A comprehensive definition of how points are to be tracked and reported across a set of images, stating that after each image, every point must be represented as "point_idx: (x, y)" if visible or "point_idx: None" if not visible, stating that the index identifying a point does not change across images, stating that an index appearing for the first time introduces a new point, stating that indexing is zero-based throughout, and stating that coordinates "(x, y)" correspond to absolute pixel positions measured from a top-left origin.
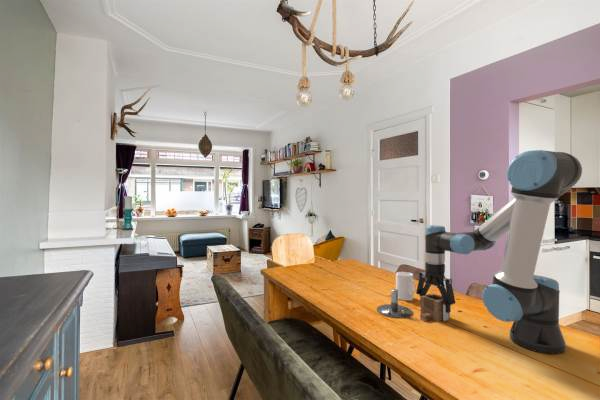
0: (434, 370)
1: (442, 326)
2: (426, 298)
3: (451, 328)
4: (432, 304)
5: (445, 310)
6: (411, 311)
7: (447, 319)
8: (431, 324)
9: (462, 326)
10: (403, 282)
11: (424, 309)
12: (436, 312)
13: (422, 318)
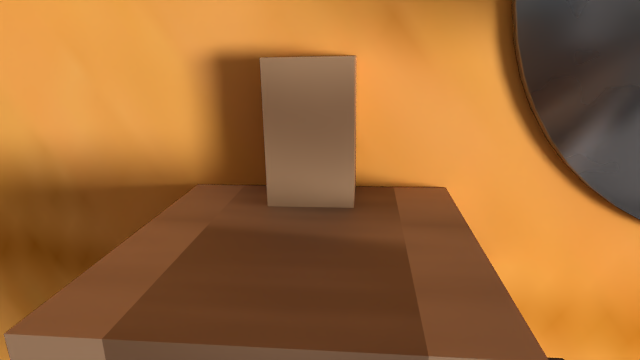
0: None
1: (81, 110)
2: (340, 346)
3: (7, 148)
4: (198, 283)
5: None
6: (594, 169)
7: None
8: (175, 45)
9: (8, 285)
10: None
11: (390, 222)
12: (165, 223)
13: (316, 56)
